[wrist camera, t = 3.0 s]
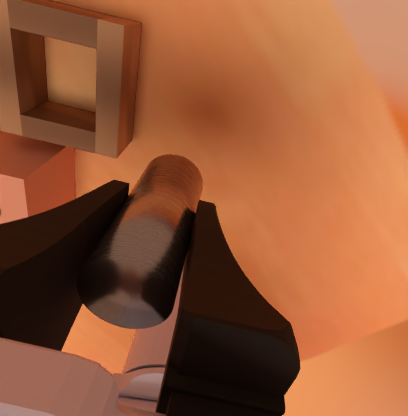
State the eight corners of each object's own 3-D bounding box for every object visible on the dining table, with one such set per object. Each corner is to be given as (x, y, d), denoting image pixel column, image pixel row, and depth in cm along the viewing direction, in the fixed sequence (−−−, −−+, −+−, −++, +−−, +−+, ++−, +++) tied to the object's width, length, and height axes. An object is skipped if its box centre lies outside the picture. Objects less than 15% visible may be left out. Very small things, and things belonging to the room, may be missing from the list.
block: (75, 200, 25) (31, 250, 20) (12, 185, 25) (-49, 231, 19) (74, 140, 22) (22, 180, 17) (3, 123, 22) (-71, 158, 17)
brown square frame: (131, 140, 21) (116, 158, 19) (30, 116, 21) (0, 130, 19) (141, 23, 18) (124, 25, 15) (17, -8, 17) (-21, -10, 15)
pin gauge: (196, 213, 16) (166, 337, 10) (141, 200, 16) (77, 316, 10) (208, 162, 14) (181, 272, 8) (147, 148, 14) (75, 247, 8)
